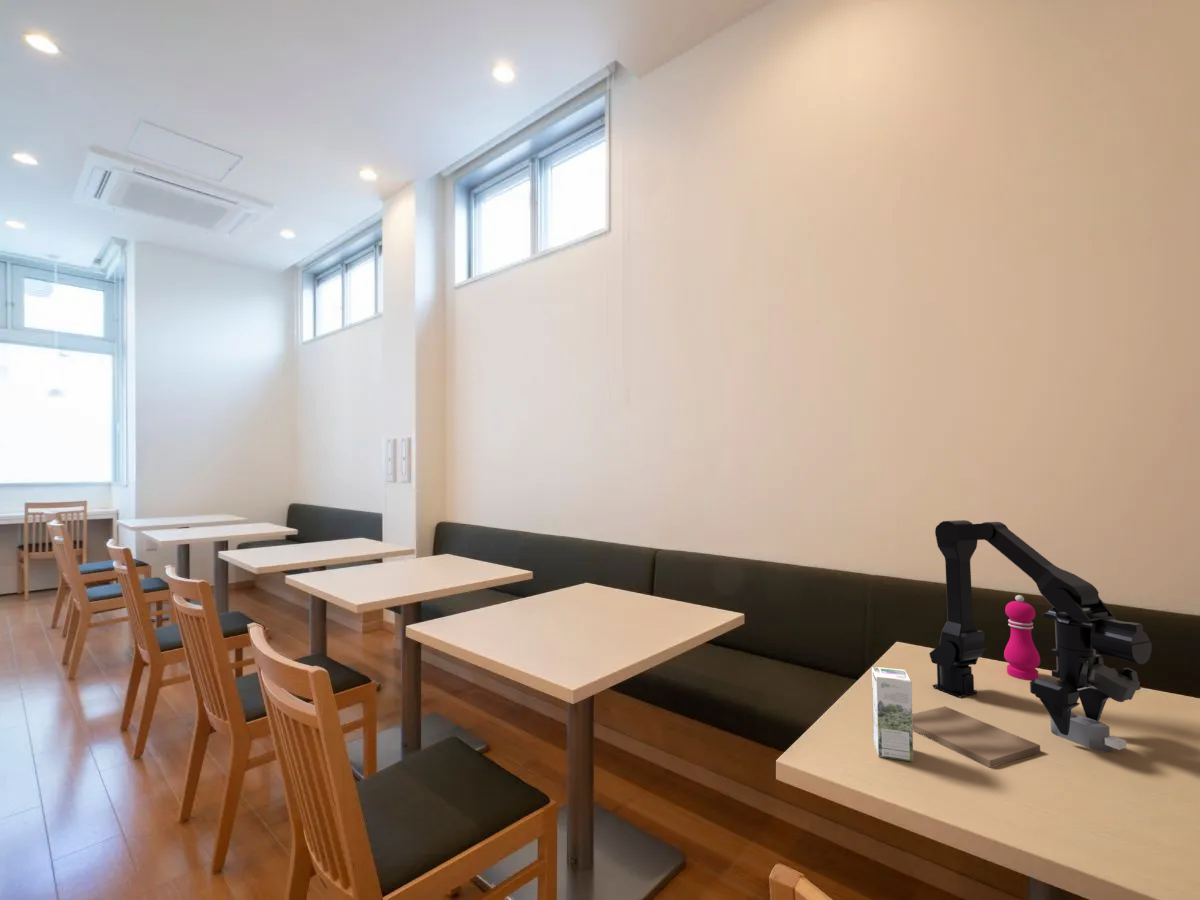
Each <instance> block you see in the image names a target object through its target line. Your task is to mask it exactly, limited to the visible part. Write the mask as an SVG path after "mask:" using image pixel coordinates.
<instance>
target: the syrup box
mask: <svg viewBox="0 0 1200 900" xmlns="http://www.w3.org/2000/svg"><path fill="white" fill-rule="evenodd" d="M871 684H872V685H871V686H872V688H871V691H872V694H871V695H872V738H873V740H872V741H873V744H874V747H875V751H876V753H877V756H878V757H880V758H886V759H891V760H892V759H893V760H898V761H906V762H914V741H913V740H914V734H913V733H914V731H913V726H912V714H913V683H912V681H911V679H910V677H909V675H908V673H907V671H906V669H899V668H891V667H890V668H888V667H879V666H872V667H871Z"/></svg>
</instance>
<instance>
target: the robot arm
mask: <svg viewBox="0 0 1200 900" xmlns="http://www.w3.org/2000/svg"><path fill="white" fill-rule="evenodd" d="M934 529H935V530H934V533H935V534H934V535H935V538H936V539H935V540H936V543H937V548H938V549H939V550H940V552H941V554H942V556H943V557H944V561H945V562H944V563H945V564H944V565H945V584H946V585H945V587H946V588H945V589H946V607H947V608H946V609H947V610H946V611H947V613H946V614H947V618H946V619H947V621H946V622H945V624H944V626H943V628H942V629H941V633H940V640H939V645H938V646H937V647H935V648H934V649H933V650H932V651H930V652H929V657H930V661H931V663H932V664H934V665H936V678H937V680H936V681H937V683H934V684H933V685H932V688H934V689H936V690H940V691H942V692H943V693H947V694H950V695H952V696H955V697H957V698H960V697H961V698H962V697H965V696H970V695H974V694H978V690H976V689H975V680H974V679H975V678H974V677H975V676H974V674H973V669H972V666H973V665H975V666H976V665H977V662H978V659H979V658H981V657H982V656H983V654H984V650H987V647H986V644H985V639H986V638H985V637H986V636H985V635H986V634H985V631H984V630H979V629H978V628H977V626H976V625H975V622H974V619H973V618H974V615H973V593H972V592H973V591H972V575H971V574H972V572H971V571H972V568H971V559H972V558H973V555H974V553H975V551H976V549H977V547H978V542H979V541H986V542H988V543H989V544H990V545H991V546H992V547H994V548H995V549H996V550H997V551H998V552H1000V553H1001V554H1002V555H1003V556H1004V557H1006V558H1007V559H1008V560H1009V561H1010V562H1011V563H1013V565H1015V566H1016V567H1017V568H1018V569H1020V570H1021V571H1022V572H1024V574H1025V575H1027V576H1028V577H1030V578H1031V579H1032V581H1034V583H1035V584H1036V586H1037V589H1038V591H1039V593H1040V594H1041V595H1042V596H1043V598H1044V599H1045V600H1046V601H1047V602H1048V603H1049V604H1050V605H1051V608H1049V610H1048V611H1046V612H1045V613H1042V614H1041V617H1042V618H1043V619H1046V620H1051V621H1054V629H1055V630H1054V631H1055V632H1054V633H1055V648H1052V649H1050V655H1052V656H1054V657H1055V658H1056V669H1054V670H1051V677H1049V676H1042V677H1039V678H1037V679H1034V680H1030V682H1029V690H1030V691H1029V692H1030V693H1031V694H1033V695H1034V696H1035V697H1036V698H1038V699H1039V700H1040V702H1041V703H1042V705H1043V706H1044V708H1045V709H1046V711H1047V712H1048V714H1049V716H1051V717H1052V719H1053V721H1054V723H1055V724H1056V726H1057V728H1058V730H1059V731H1060V733H1061V734H1063V735H1068V733H1069V727H1070V717H1071V712H1072V710H1073V709H1074V708H1075V707H1077V706H1079V705H1080V704H1081V706H1082V709H1083V711H1084V715H1085V717H1087V718H1090V719H1093V720H1096V721H1098V722H1100V718H1101V716H1102V714H1103V711H1104V707H1105V706H1106V703H1107V700H1110V699H1111V700H1113V701H1115V702H1119V703H1124V702H1125V701H1128V700H1129V701H1131V700H1133V697H1134V695H1135V693H1136V691H1140V690H1141V689H1142V688H1141V686H1140V684H1141V682H1140V681H1139V677H1138V672H1137V671H1135V670H1134V669H1131V668H1130V667H1124V668H1120V669H1119V670H1117V668H1115V667H1113V668H1110V667H1108V666H1107V665H1104V658H1103V657H1102V655H1103V656H1108V657H1111V658H1115V659H1119V660H1122V661H1127V662H1131V663H1134V664H1135V663H1136V664H1139V665H1144V664H1146V663H1147V662H1148V661H1149V660H1150V658H1151V654H1152V651H1153V649H1152V648H1153V647H1152V646H1153V645H1152V642H1151V641H1150V638H1149V636H1148V634H1147V633H1146V631H1144V628H1143V624H1142V623H1138V622H1133V621H1132V622H1130V621H1124V620H1123V621H1122V620H1118V619H1117V620H1116V616H1115V615H1114V614H1113V612H1112V611H1111V610H1110V609H1109V608H1108V606H1107V605H1106V604H1105V602H1104V601H1103V600H1102V598H1100V596H1099V591H1098V589H1097V588H1096V586H1094V585H1093V584H1092V583H1090V582H1088V581H1086V580H1085V579H1083V578H1082V577H1080V576H1078V575H1076V574H1074V573H1072V572H1069V571H1068V570H1065V569H1062V568H1060V567H1059V566H1057V565H1055V564H1054V563H1052V562H1051V561H1049V560H1048V559H1047V558H1046V557H1044V555H1042V554H1041V553H1040V552H1038V551H1037V550H1035V549H1034V548H1033V547H1032V546H1030V545H1029V544H1028V543H1026V542H1025V541H1024V540H1023V539H1022V538H1020V537H1019V536H1018V535H1017V534H1015V533H1014V532H1013V531H1011V530H1010V529H1009V528H1008V526H1007V525H1006V524H1004V523H1003V522H1000V521H986V522H982V523H973V522H970V521H969V520H965V519H962V520H958V519H957V520H943V521H940V522H939V523H938V524H937V525H936V526H935V528H934ZM1087 611H1090V612H1087ZM1096 651H1097V652H1098V654H1097V653H1096ZM971 665H972V666H971ZM1052 677H1054V678H1052ZM1055 678H1057V679H1055ZM1079 699H1080V702H1081V703H1080V702H1078V701H1079Z"/></svg>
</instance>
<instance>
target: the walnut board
mask: <svg viewBox="0 0 1200 900" xmlns="http://www.w3.org/2000/svg"><path fill="white" fill-rule="evenodd" d="M912 726H913V730H914V731H913V732H915V731H916V732H915V733H917V732H918V733H917V734H919V733H920V734H919V735H921V734H922V735H921V736H923V735H924V736H923V737H925V736H926V737H925V738H927V737H928V738H927V739H929V740H931V739H932V740H931V741H933V740H934V742H935V741H936V743H937V742H938V744H939V745H942V746H943V747H946V748H948V749H950V750H952V751H954V752H957V753H958V754H961V755H963V757H964V756H965V757H966V758H969V759H971V760H973V761H974V762H977V763H979V764H981V765H984V766H986V767H988V768H994V767H997V766H999V765H1003V764H1006V763H1010V762H1012V761H1015V760H1016V761H1017V760H1019V759H1022V758H1025V757H1029V756H1031V755H1035V754H1038V753H1041V745H1040V744H1039V743H1035V742H1033V741H1031V740H1028V739H1026V738H1023V737H1021V736H1019V735H1016V734H1013V733H1011V732H1008V731H1006V730H1004V729H1001V728H999V727H997V726H994V725H992V724H989V723H987V722H984V721H982V720H979V719H977V718H975V717H972V716H970V715H967V714H965V713H963V712H960V711H958V710H955V709H953V708H951V707H948V706H941V707H936V708H931V709H927V710H922V711H919V712H914V713H912Z"/></svg>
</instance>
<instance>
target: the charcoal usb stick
mask: <svg viewBox="0 0 1200 900" xmlns="http://www.w3.org/2000/svg"><path fill="white" fill-rule="evenodd" d="M1049 716H1050V715H1049ZM1050 732H1051V733H1052V735H1054V736H1057V737H1060V738H1061V739H1065V740H1068V741H1070V742H1073V743H1075V744H1077V745H1080V746H1084V747H1086V748H1089V749H1091V750H1093V751H1094V750H1095V751H1098V752H1110V751H1111V748H1112V749H1116V750H1118V751H1119V750H1122V749H1126V748H1127V740H1126V739H1124V738H1120V737H1117V736H1115V735H1111V733H1110V732H1111V731H1110V726H1109V725H1107V724H1106V723H1104V722H1101V721H1099V722H1098V721H1096V720H1093V719H1090V718H1087V717H1086V716H1083V715H1080V714H1078V713H1075V712H1072V711H1071V717H1070V727H1069V733H1068V735H1063V734H1061V733H1060V731H1059V730H1058V728H1057V726H1056V724H1055V723H1054V721H1053V719H1052V717H1051V716H1050Z"/></svg>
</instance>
